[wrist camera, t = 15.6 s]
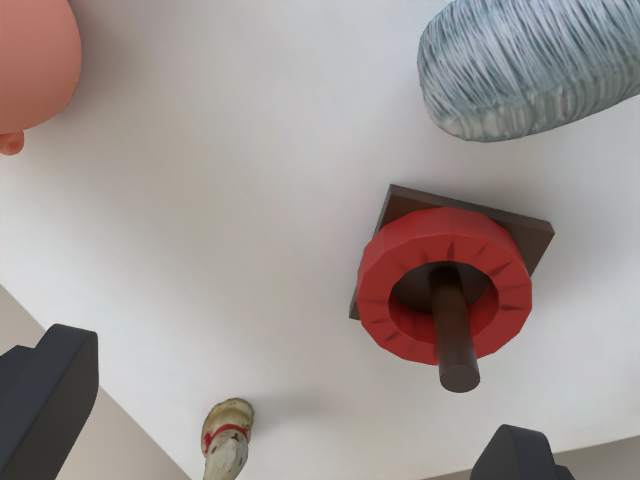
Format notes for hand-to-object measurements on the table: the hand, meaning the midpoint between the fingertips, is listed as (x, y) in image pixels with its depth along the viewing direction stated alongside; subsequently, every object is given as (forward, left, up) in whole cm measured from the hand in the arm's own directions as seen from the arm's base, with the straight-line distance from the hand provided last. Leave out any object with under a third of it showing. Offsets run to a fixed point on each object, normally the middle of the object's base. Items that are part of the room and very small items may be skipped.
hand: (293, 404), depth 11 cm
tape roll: (+10, -15, -27) cm, 32 cm away
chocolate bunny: (-3, -39, -28) cm, 48 cm away
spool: (+10, +3, -28) cm, 30 cm away
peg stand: (+11, -15, -28) cm, 34 cm away
